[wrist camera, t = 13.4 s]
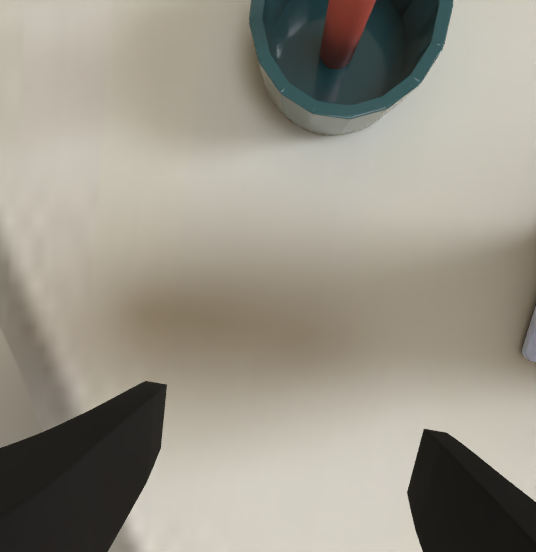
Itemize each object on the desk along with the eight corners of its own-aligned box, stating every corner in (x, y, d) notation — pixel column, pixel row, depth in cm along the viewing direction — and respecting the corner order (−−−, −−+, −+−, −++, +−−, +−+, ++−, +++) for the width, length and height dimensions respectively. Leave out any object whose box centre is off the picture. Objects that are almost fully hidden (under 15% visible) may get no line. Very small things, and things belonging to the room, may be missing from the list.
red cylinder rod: (356, 35, 17) (426, -148, 8) (349, 71, 18) (410, -65, 8) (323, 31, 17) (355, -157, 8) (317, 67, 18) (341, -73, 8)
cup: (429, -20, 17) (475, -93, 13) (395, 145, 19) (425, 130, 14) (273, -40, 17) (265, -118, 13) (251, 124, 19) (238, 103, 14)
